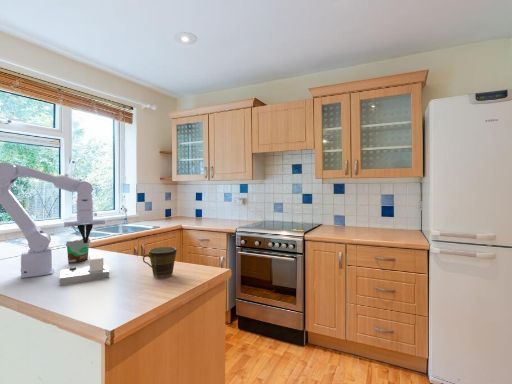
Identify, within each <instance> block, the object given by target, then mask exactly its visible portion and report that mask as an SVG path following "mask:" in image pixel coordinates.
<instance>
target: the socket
mask: <svg viewBox="0 0 512 384" xmlns="http://www.w3.org/2000/svg"><path fill="white" fill-rule="evenodd" d="M103 267H104V270H101V271H93V272H90V270H89V265H87V266H82V267H81V266H80V267H76V266H73V267H69V268H67V269H66V268H64V269H61V270H60V274H59V286H65V285H72V284H79V283H80V284H81V283H86V282H92V281H98V280H99V281H100V280H105V279H109V278H110V271H109V268H108V265H107V264H106V263H105V264H104V263H103Z"/></svg>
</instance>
